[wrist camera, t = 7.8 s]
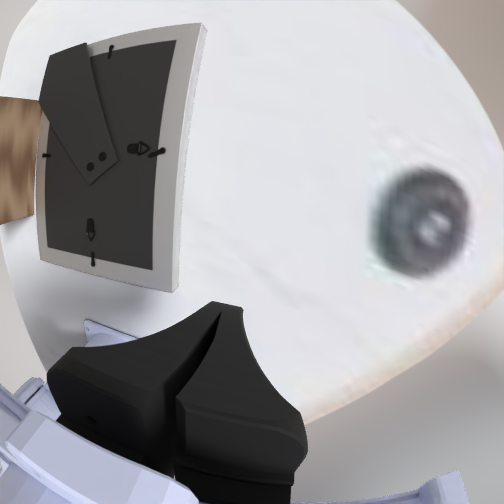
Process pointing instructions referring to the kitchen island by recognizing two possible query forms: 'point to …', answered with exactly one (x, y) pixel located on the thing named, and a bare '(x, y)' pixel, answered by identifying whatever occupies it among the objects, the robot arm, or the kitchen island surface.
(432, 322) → the kitchen island surface
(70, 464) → the robot arm
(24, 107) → the walnut bookend
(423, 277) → the kitchen island surface
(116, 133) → the picture frame
